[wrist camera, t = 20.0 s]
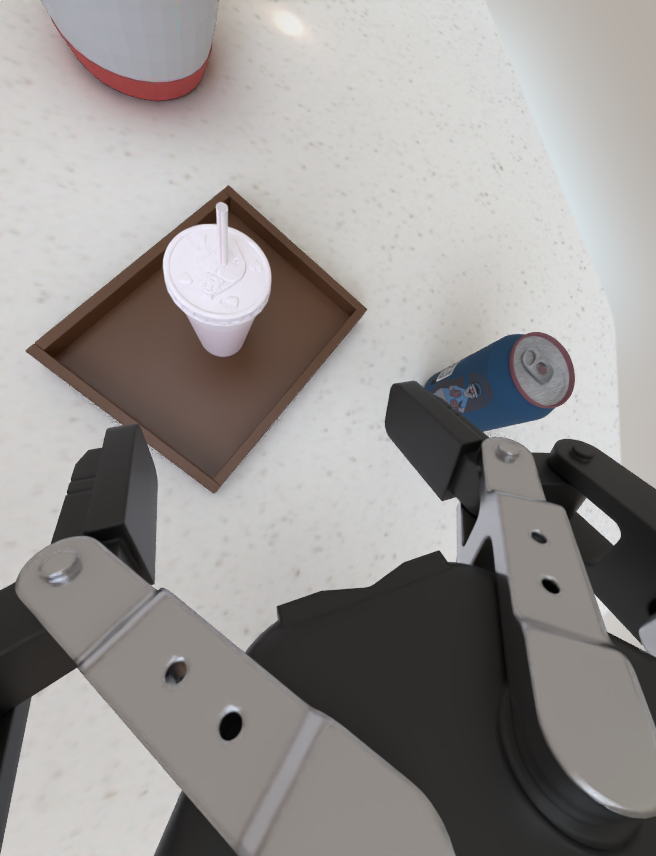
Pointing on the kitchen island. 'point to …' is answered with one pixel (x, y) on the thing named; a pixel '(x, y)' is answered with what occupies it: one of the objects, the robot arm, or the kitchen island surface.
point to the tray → (201, 350)
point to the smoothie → (217, 282)
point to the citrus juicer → (139, 42)
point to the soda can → (508, 381)
